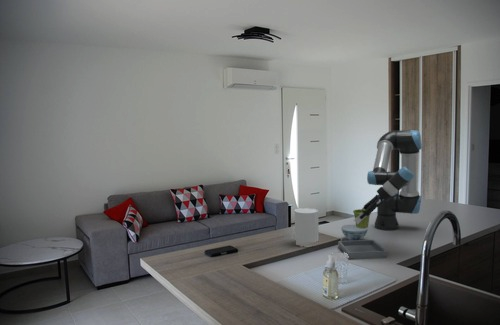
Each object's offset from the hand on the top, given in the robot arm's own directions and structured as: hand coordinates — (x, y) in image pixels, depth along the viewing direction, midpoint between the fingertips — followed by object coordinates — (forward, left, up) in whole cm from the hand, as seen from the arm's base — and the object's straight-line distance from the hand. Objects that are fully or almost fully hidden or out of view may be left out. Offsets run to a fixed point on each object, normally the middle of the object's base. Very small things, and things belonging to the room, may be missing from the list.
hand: (355, 219), depth 207 cm
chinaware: (-20, +5, -18) cm, 28 cm away
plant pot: (+1, +3, -4) cm, 5 cm away
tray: (+1, +3, -18) cm, 18 cm away
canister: (-17, -24, -18) cm, 34 cm away
